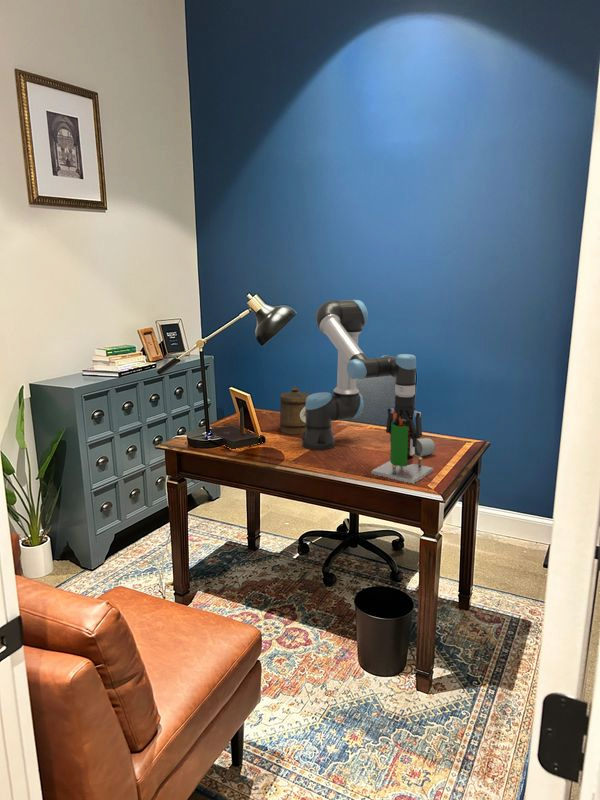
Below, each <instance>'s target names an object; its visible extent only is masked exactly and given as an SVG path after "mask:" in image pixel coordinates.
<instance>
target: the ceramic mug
mask: <svg viewBox="0 0 600 800" xmlns="http://www.w3.org/2000/svg"><path fill="white" fill-rule="evenodd" d="M435 451H436V444H435V442H434V440H433V439H432V438H429V437H425V438H417V446H416V447H415V454H413V455H412V456H413V457H416V458H418V457H422V458H423V457H425V456H430V455H432V454H434V453H435Z"/></svg>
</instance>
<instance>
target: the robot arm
mask: <svg viewBox="0 0 600 800" xmlns="http://www.w3.org/2000/svg"><path fill="white" fill-rule="evenodd" d="M368 321H369V313H368V309H367V306H366V305H365V303H364V302H363V301H362V300H359V299H341V300H329V301H326V302H324V303H322V304H321V305H319V307H318V309H317V310H316V314H315V322H316V326H317V328H318V329H319V331H320V332H321V333H322V334H324V335H326V336H327V338H329V341H330V342H331V343H332V344H333V346H334V348H335V349H336V350H337V373H336V374H337V377H336V386H335V388H333V392H332V393H333V394H331V393H330V392H329V391H328V392H326V391H322V392H315V393H312V394H310V395H309V396H308V397H307V398H306V404H305V413H306V429H305V432H304V434H302V438H301V446H302V447H304V448H305V449H310V450H319V451H320V450H327V449H329V450H330V449H331V448H334V447H335V446H336V439H335V436H334V432H333V430H332V422H335V421H343V420H351V419H356V418H358V417H360V416H361V414H362V413H363V410H364V407H365V404H364V403H365V401H364V397H363V395H362V394H361V393H360V390H359V389H358V388H357V380H362V379H371V378H381V377H393V378H395V387H394V388H395V389H394V390H395V391H394V392H395V396H394V407H389V408H387V421H386V428H385V429H386V430H385V432H386V433H387V434H389V435H390V436H391V423H392V422H394V421H395V422H394V425H396V426H399V417H400V418H401V419H402V420H406V421H407V422H408V425H409V429H410V432H411V436H412V438H411V439H410V455H411V456H414V455H413V454H415V447H416V446H417V439H421V438H422V437H423V427H422V416H423V412H422V411H417V410H416V408H415V407H416V406H415V405H416V396H415V395H416V378H417V367H418V366H417V357H416V356H415V355H414V354H411V353H410V354H409V353H402V354H401V353H400V354H396V357H395V356H393V355H381V356H380V357H371V358H368V357H367V355H366V354H365V353H364V352H363V351H362V348H360V347H359V335H360V334H361V333H362V332H363V327H365V326H366V325H367V324H368ZM394 412H396V413H397V416H396V418H395V419H393V413H394ZM414 419H415V420H414ZM414 421H415V423H414ZM390 443H391V437H390Z"/></svg>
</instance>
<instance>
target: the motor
mask: <svg viewBox="0 0 600 800" xmlns="http://www.w3.org/2000/svg"><path fill="white" fill-rule="evenodd" d="M396 416H397V413H396V412H394V413H393V422H392V423H391V435H390V438H391V442H390V459H389V461H390V462H391V463H392V464H393V465H397V466H407V465H411V464H414V457H415V456H414V455H412V456H411V455H410V439H411V438H412V436H411V432H410V429H409V425H408V422H407V421H406V420H405V419H401V418H400V417H399V426H396V425H394V422H395V418H396Z"/></svg>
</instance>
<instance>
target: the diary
mask: <svg viewBox="0 0 600 800" xmlns="http://www.w3.org/2000/svg"><path fill="white" fill-rule="evenodd" d="M240 427H241V426H239V425H238V424H231V425H223V426H222V425H221V426H218V427H211V428H210V429H211V432H212V433H213V434H214V435H216V436H219V437H221V438H223V440H222V442H223V444H224V445H225V446H226V447H229V448H231V449H236V448H239V447H243V446H248V445H253V444H258V443H261V444H263V443H265V444H266V441H267V439H266V436H265V435H264V434H261V435H260V436H258V435H255V434H253V433H248V432H247V433H246V434H245V435H244V436H241V435H240ZM258 437H260V438H259V439H258ZM262 442H263V443H262ZM258 445H259V444H258ZM226 447H225V448H226Z"/></svg>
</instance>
